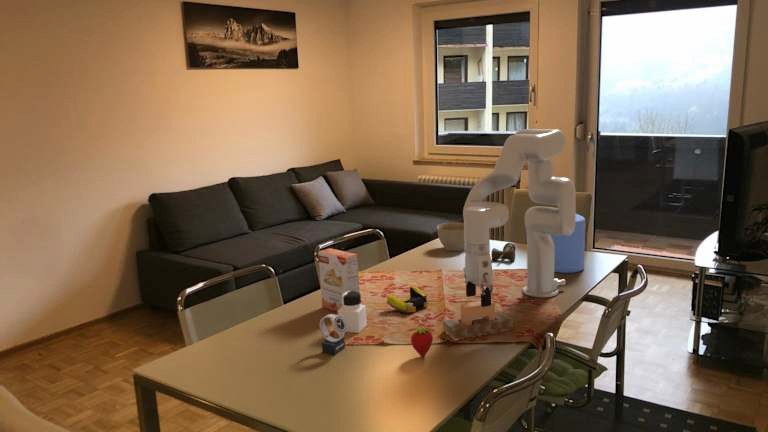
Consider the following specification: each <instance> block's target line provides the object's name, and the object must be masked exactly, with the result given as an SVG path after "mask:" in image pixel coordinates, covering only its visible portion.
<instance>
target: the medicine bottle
mask: <svg viewBox="0 0 768 432" xmlns="http://www.w3.org/2000/svg"><path fill="white" fill-rule="evenodd" d="M337 315H338V316H340V317H342V318H343V319H344V321H345V323H346V332H345V333H352V334H353V333H354V334H359V333H361V332H362V331H363V330H364V329H365V327H366V326H367V325H368V321H367V306H366V304H362V295H361V293H360V291H359V292H356V291H348V292H345V293H343V294H342V307H341V308H340V309H339V310H338V312H337Z"/></svg>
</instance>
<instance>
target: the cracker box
mask: <svg viewBox="0 0 768 432" xmlns="http://www.w3.org/2000/svg"><path fill="white" fill-rule="evenodd" d="M317 253H318V266H319V278H320V280H319V281H320V292H321V293H320V295H321V307H322V308H324V309H326V310H327V309H328V310H330V311H333V312H336V313H338V310H339V309H340V308H341V307H342V294H343V293H345V292H348V291H356V292H359V293H360V281H359V278H360V277H359V264H358V263H359V262H358V254H357V253H353V252H347V251H344V250H339V249H335V248H331V247H329V248H326V249H322V250H319V251H318V252H317Z"/></svg>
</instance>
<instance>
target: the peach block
mask: <svg viewBox="0 0 768 432" xmlns="http://www.w3.org/2000/svg"><path fill="white" fill-rule="evenodd" d="M495 312H496V303H495V302H494V301H493V300H491V306H486V307H482V306H481V300H477V301H472V302H466V303H460V318H461V324H463V325H464V326H468V325H472V319H475V318H481V317H484V319H485V320H486V321H488V322H490V321H495Z"/></svg>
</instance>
